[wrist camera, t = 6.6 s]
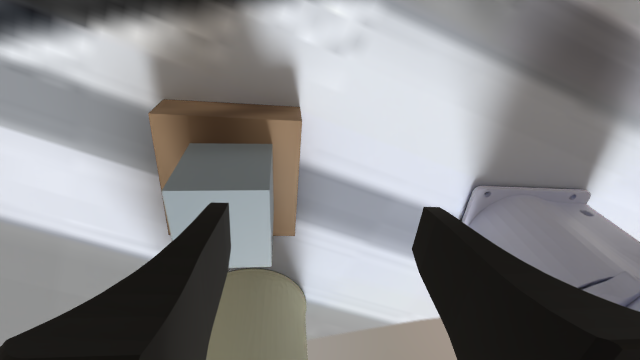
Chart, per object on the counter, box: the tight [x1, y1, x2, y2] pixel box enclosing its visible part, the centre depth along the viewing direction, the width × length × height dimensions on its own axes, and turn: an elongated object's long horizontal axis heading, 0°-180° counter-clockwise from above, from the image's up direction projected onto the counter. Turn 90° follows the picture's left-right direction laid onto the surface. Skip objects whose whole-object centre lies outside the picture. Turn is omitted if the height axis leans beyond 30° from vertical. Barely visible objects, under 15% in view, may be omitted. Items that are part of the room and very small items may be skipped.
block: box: [162, 143, 274, 268], centre depth 18 cm, size 4×4×5 cm
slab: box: [148, 99, 302, 236], centre depth 21 cm, size 8×8×3 cm
